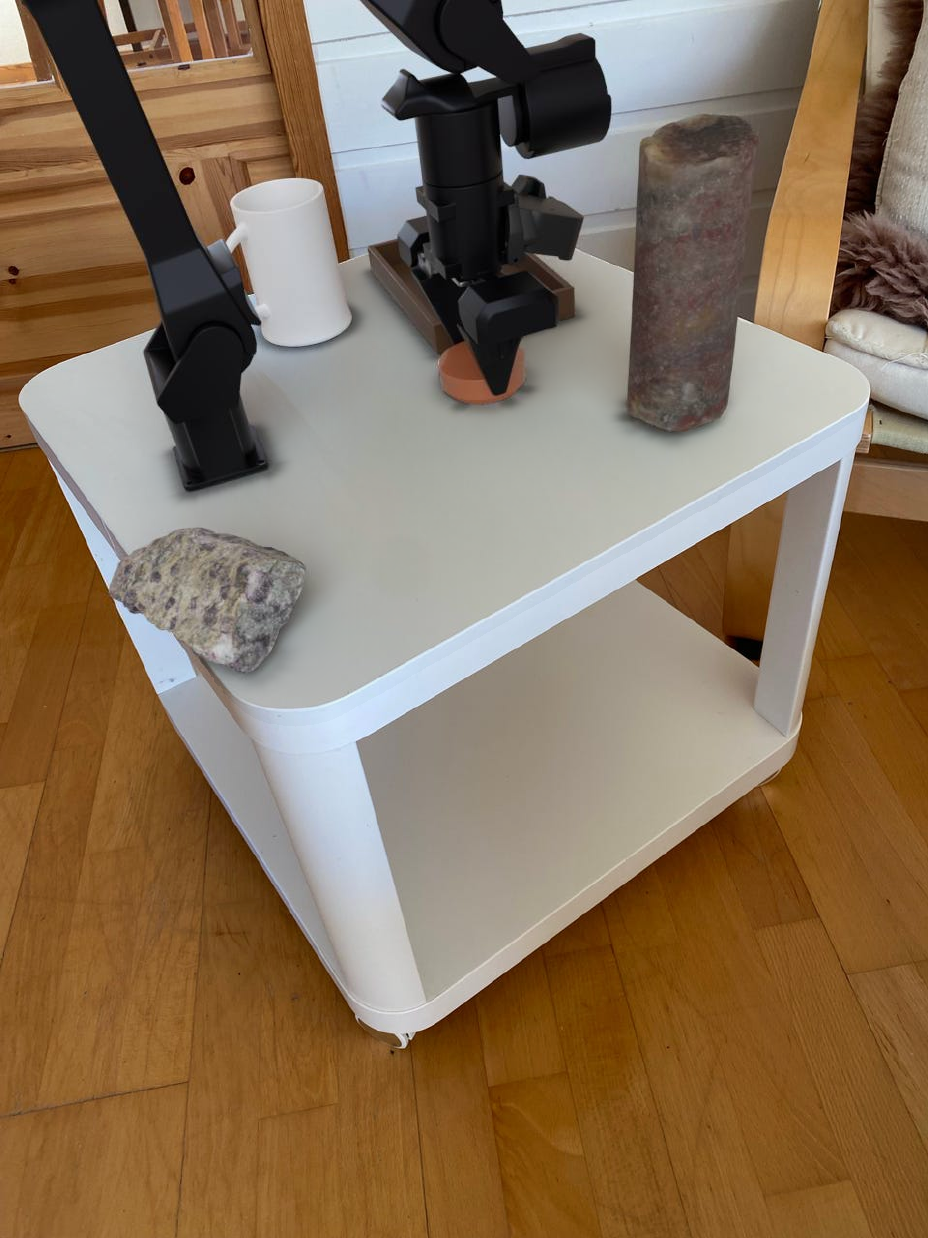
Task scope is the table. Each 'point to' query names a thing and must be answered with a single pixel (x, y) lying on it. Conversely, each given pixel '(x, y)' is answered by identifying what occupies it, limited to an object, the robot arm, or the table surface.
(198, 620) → the rock
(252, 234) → the mug
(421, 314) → the tray
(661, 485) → the table surface
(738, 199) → the brown stone pillar
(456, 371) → the puck terracotta
